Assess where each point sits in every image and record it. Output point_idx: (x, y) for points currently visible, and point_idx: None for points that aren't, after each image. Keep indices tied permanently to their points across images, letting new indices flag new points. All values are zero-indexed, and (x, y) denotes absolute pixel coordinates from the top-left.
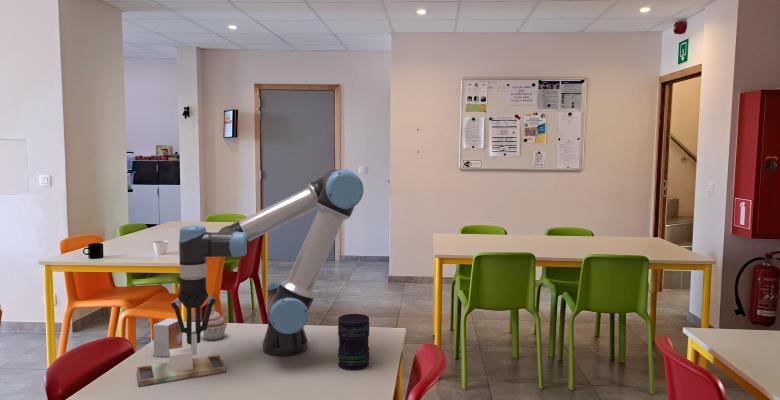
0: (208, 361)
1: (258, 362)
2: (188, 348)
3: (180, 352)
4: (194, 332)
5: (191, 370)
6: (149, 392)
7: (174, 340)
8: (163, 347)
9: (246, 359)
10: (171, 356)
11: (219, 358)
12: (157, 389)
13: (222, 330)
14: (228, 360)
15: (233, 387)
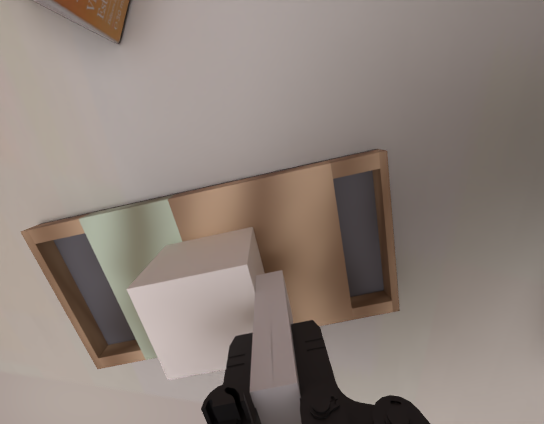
0: (332, 232)
1: (527, 223)
2: (242, 296)
3: (208, 346)
4: (289, 411)
5: None
6: (158, 390)
7: None
8: (42, 2)
9: (491, 175)
10: (172, 375)
11: (382, 202)
12: None
13: None
14: (414, 169)
15: None
